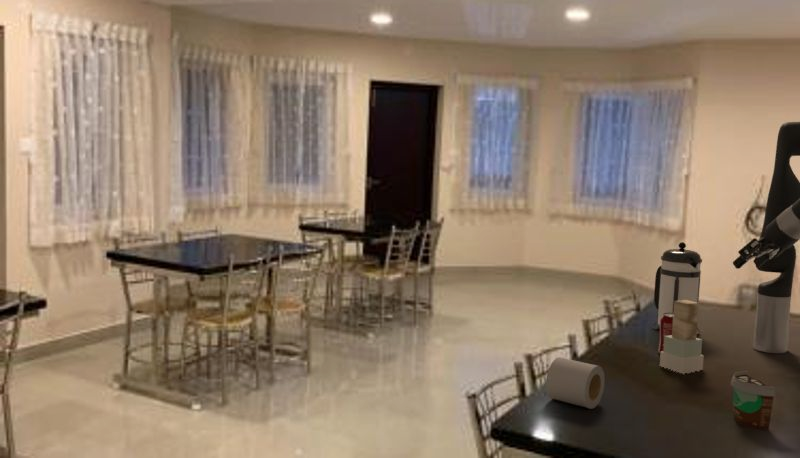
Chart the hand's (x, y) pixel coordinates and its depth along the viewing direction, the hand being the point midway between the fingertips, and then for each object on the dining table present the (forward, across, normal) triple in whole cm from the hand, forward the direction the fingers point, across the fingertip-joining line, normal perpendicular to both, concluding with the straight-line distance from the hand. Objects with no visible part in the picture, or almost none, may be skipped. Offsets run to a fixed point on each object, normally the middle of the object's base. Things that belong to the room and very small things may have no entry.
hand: (745, 265), depth 207 cm
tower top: (+28, +6, +10) cm, 30 cm away
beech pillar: (+25, +6, +6) cm, 26 cm away
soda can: (+39, -3, +4) cm, 40 cm away
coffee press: (+53, -28, -10) cm, 61 cm away
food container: (+6, +28, +38) cm, 47 cm away
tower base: (+31, +6, +13) cm, 34 cm away
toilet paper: (+25, +54, +19) cm, 62 cm away
